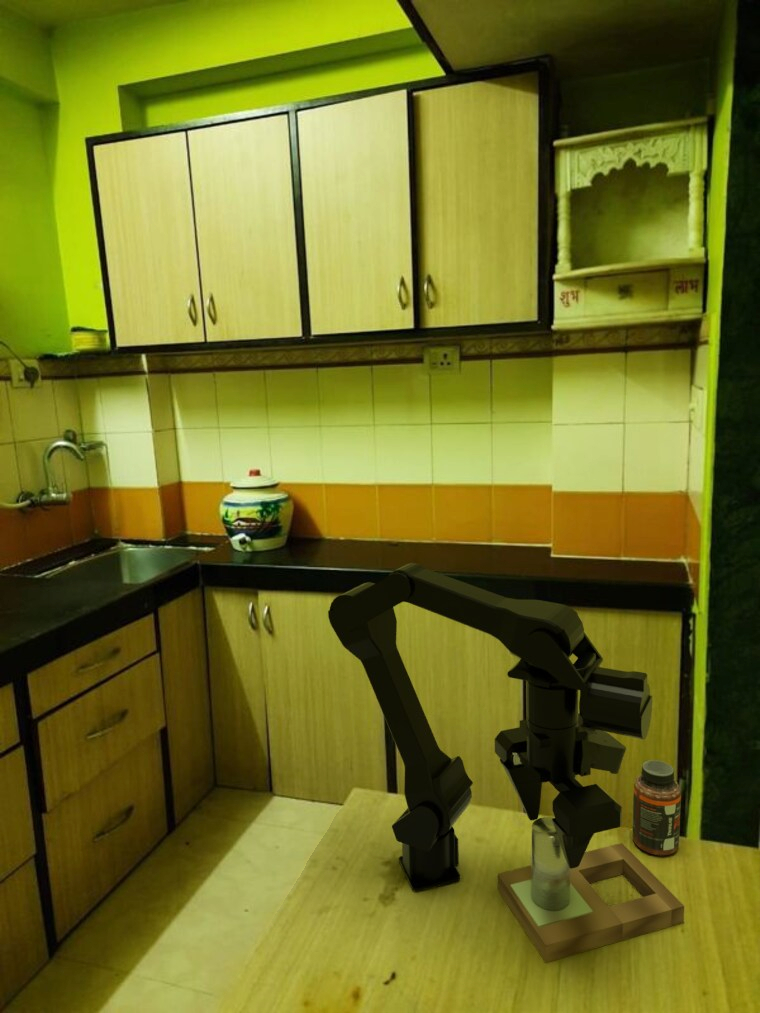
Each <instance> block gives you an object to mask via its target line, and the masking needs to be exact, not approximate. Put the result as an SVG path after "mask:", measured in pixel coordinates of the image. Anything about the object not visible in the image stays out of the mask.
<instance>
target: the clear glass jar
mask: <svg viewBox="0 0 760 1013" xmlns="http://www.w3.org/2000/svg"><path fill="white" fill-rule="evenodd" d="M552 818H554V817H552V816H551V817H550V816H545V817H540V818H539V817H538V819H536V820H533V822H532V824H531V845H530V847H531V848H530V849H531V851H530V852H531V856H530V861H531V862H530V866H531V898H532V900H533V902H534V903H535V904H536V905H537V906H538V907H540V908H542V909H545V910H548V911H560V910H563V909H565V908H566V907H567V906H568V905H569V902H570V867H569V866H568V864H567V861H566V859H565V856H564V853H563V850H562V847H561V845H560V842H559V839H558V836H557V833H556V830H555V827H554V824H553V821H552Z"/></svg>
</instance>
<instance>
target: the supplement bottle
mask: <svg viewBox="0 0 760 1013" xmlns="http://www.w3.org/2000/svg"><path fill="white" fill-rule="evenodd" d="M681 789H682V788H681V786H680V784H679V783H678V782H677V780H675V769H674V768H673V766H672V765H670V764H669V763H667V762H666V761H665V762H664V761H661V760H656V759H654V760H653V759H650V760H647V761H645V762H643V763H642V765H641V774H640V775H638V776H637V777H636V778H635V779H634V783H633V801H632V802H633V805H632V840H633V842H634V843H635V845H636V846H637V847H638V848H639V849H641V851H643V852H645V853H648V854H651V855H655V856H669V855H673V854H675V852H677V850H678V849H679V846H680V835H681V834H680V833H681V832H680V830H681V828H680V827H681V810H682V809H681V805H682V804H681V802H682V790H681Z"/></svg>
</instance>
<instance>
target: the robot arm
mask: <svg viewBox="0 0 760 1013" xmlns="http://www.w3.org/2000/svg"><path fill="white" fill-rule="evenodd" d="M402 603H408V604H410V605H412V606H416V607H418V608H421V609H424V610H426V611H428V612H431V613H434V614H436V615H439V616H441V617H443V618H446V619H449V620H452V621H454V622H457V623H458V624H459V623H460V624H461V625H464V626H466V627H469V628H472V629H474V630H477V631H480V632H482V633H485V634H487V635H489V636H491V637H493V638H495V639H496V640H498V641H499V642H500V643H501V644H502V645H503V646H504V647H505V648H506V649H507V650H508V651H509V652H510V653H511V654H513V655H514V656H516V657H517V658H519V660H518V661H517V662H516V663H515V664H514V665H513V666H512V667H511V668H510V669H509V671H507V677H508V678H510V679H516V680H521V681H525V686H526V688H525V694H526V695H525V698H526V699H525V700H526V701H525V703H526V705H525V706H526V713H525V714H526V715H525V716H526V719H521V720H519V726H518V727H514V728H510V729H503V730H501V731H500V732H499V733H498V734H497V735H496V736H495V738H494V754H496V756H498V758H499V763H500V765H502V767H503V769H504V771H505V773H506V775H507V777H508V780H509V781H510V783H511V785H512V787H513V790H514V791H515V793H516V795H517V797H518V800H519V801H520V803H521V805H522V807H523V810H524V812H525V814H526V816H527V818H528V820H529V821H535V820H537V819H539V816H540V815H539V814H540V807H541V798H542V787H543V783H550V784H551V786H552V787H553V788H554V789H556V791H557V792H558V794H557V795H556V797H555V798H553V800H552V812H553V816H554V817H553V818H552V821H553V824H554V827H555V830H556V833H557V836H558V839H559V842H560V845H561V847H562V850H563V853H564V856H565V859H566V861H567V864H568V866H569V867H570V868H571V869H572V868H576V867H578V866H579V865H580V862H581V860H582V858H583V856H584V853H585V852H587V848H588V846H589V844H590V842H591V840H592V839H593V836H594V835H595V834H597V833H601V832H606V831H610V830H613V829H614V830H615V829H617V828H621V826H622V822H623V821H622V819H623V817H622V816H623V815H622V813H623V811H622V808H623V807H622V806H621V805H620V804H619V803H618V802H617V801H616V800H615V799H614V798H613V797H612V796H611V795H610V794H608V793H607V792H606V791H605V790H604V789H603V788H602V787H600V785H598V784H597V783H594V784H588V785H585V786H584V785H582V784H581V783H580V781H578V780H577V779H576V776H580V777H581V778H582V777H587V776H591V774H592V773H591V772H592V771H591V769H594V770H599V771H605V772H609V773H610V774H613V775H616V774H617V775H618V774H619V770H620V768H621V765H622V762H623V760H624V757H625V753H626V751H627V750H626V749H627V747H626V746H625V745H624V744H622V742H620V741H619V740H618V739H616V738H615V737H614V736H613V735H611V734H616V735H621V736H625V737H631V738H635V739H640V740H646V739H647V736H648V733H649V730H650V725H651V720H652V710H653V695H651V688H650V685H649V683H648V674H647V673H646V672H643V671H642V672H641V671H634V670H633V671H632V670H631V671H626V670H619V669H613V668H607V667H601V664H602V663H603V661H604V658H603V657H602V655H601V654H600V652H599V651H598V649H597V648H596V647H595V645H594V644H593V642H592V641H591V640H590V638H589V637H588V635H587V634H586V633H585V628H584V625H583V621H582V620H581V618H580V616H579V613H578V612H577V611H576V610H575V609H573V608H572V607H570V606H568V605H567V604H563V603H557V602H551V601H546V600H540V599H515V598H510V597H506V596H504V595H500V594H497V593H495V592H491V591H488V590H486V589H483V588H481V587H478V586H476V585H472V584H469V583H467V582H464V581H461V580H458V579H455V578H453V577H450V576H447V575H444V574H442V573H439V572H436V571H433V570H430V569H427V568H426V567H425V566H423V565H422V564H420V563H417V562H416V563H415V562H410V563H406V564H404V565H402V566H401V567H399V568H397V569H394V570H393V571H391V572H390V573H389V575H388V576H387V577H384V578H383V579H382V580H379V581H378V582H375V583H374V582H371V581H369V582H363V583H362V584H360V585H358V586H355V587H353V588H352V589H349V590H348V591H346V592H343V593H342V594H340V595H338V596H336V597H335V598H334V599H333V600H332V601H331V603H330V607H329V610H328V611H327V617H328V620H329V624H330V627H331V628H332V629H333V631H334V634H335V635H336V636H337V638H338V640H339V641H340V643H341V645H342V647H344V649H345V650H346V651H348V652H349V653H351V654H352V656H354V657H356V658H357V659H358V660H359V661H360V663H361V664H362V666H363V669H364V672H365V674H366V676H367V678H368V681H369V682H370V685H371V688H372V691H373V693H374V695H375V698H376V700H377V702H378V705H379V707H380V709H381V712H382V715H383V717H384V720H385V721H386V722H385V723H386V725H387V726H388V729H389V731H390V734H391V736H392V740H393V742H394V744H395V745H396V749H397V751H398V754H399V756H400V758H401V761H402V763H403V765H404V766H403V767H404V779H403V780H404V781H403V782H404V784H403V785H404V786H403V793H404V799H405V802H406V806H407V809H406V810H405V811H403V813H402V814H401V815H400V816H399V817H398V818H397V819H396V821H395V822H394V823H393V824H392V825H391V829H392V832H393V834H394V838H395V840H396V841H397V842H399V843H401V846H402V848H401V849H402V850H401V851H402V855H401V856H399V857H398V863H399V864H400V866H401V869H402V871H403V873H404V875H405V877H406V879H407V882H408V884H409V886H410V888H411V889H412V891H413V892H420V891H425V890H429V889H431V888H436V887H437V888H438V887H440V886H444V885H448V884H453V883H456V882H459V881H460V880H461V875H460V873H459V871H458V869H457V868H458V867H459V864H460V861H459V860H460V859H459V858H460V857H459V856H460V855H459V854H460V853H459V837H458V836H457V835H456V833H455V828H454V824H455V823H456V822H457V821H458V819H459V818H461V816H462V815H463V813H464V812H465V810H467V808H468V807H469V805H470V803H471V799H472V797H473V794H472V788H471V787H472V785H474V782H473V780H472V779H471V778H470V777H469V775H468V773H467V772H466V769H465V764H464V761H463V759H462V758H461V757H460V755H459V756H454V757H453V758H452V757H450V756H449V755H447V754H446V753H445V752H444V751H442V750H441V749H440V747H439V745H438V742H437V741H436V740H437V739H436V737H435V735H434V733H433V731H432V730H433V729H432V728H431V726H430V723H429V721H428V718H427V716H426V714H425V711H424V709H423V706H422V705H421V702H420V700H419V697H418V695H417V692H416V690H415V688H414V685H413V683H412V680H411V678H410V676H409V673H408V671H407V669H406V666H405V664H404V660H403V659H402V656H401V655H400V652H399V649H398V646H397V628H398V620H397V616H396V613H395V609H394V608H395V607H396V606H398V605H400V604H402ZM572 655H574V656H575V657H576V658H577V659H576V660H575V661H574V662H572V660H571V659H570V657H571V656H572ZM610 733H611V734H610Z"/></svg>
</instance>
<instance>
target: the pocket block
mask: <svg viewBox="0 0 760 1013" xmlns="http://www.w3.org/2000/svg"><path fill="white" fill-rule="evenodd" d="M621 875H623V876H624V877H625V878H626V879H627V881H628V882H629V883H630V884H631V885H632V886H633V887H634V888H635V889H636V890H637V892H638V893H640V895H641V896H642V897H638V898H635V899H631V900H627V901H623V902H620V903H616V904H612V905H608V904H607V902H605V900H604V899H603V898H602V896H601V895H600V894H599V893H598V891H596V890H595V888H594V887H593V886H592V885H591V884H592V883H595V882H599V881H602V880H607V879H610V878H614V877H618V876H621ZM590 883H591V884H590ZM497 891H498V892H499V893H500V895H501V896H502V898H503V899H504V900H503V901H505V903H506V905H507V906H508V908H509V910H511V912H512V913H513V915H514V917H515V918H516V920H517V921H518V923H519V924H520V926H521V927H522V929H523V930H524V932H525V934H526V935H527V936H528V938H529V941H531V942H532V944H533V946H534V947H535V949H536V950H537V952H538V953H539V955H540V956H541V958H542V960H543V961H544V962H545V963H549V962H552V961H556V960H559V959H563V958H567V957H570V956H573V955H577V954H581V953H583V952H587V951H591V950H595V949H597V948H601V947H604V946H608V945H610V944H615V943H618V942H622V941H626V940H628V939H631V938H632V939H633V938H636V937H638V936H642V935H646V934H649V933H653V932H655V931H659V930H663V929H666V928H670V927H673V926H676V925H681V924H684V922H685V905H684V904H683V902H682V901H680V900H679V899H678V898H677V897H676V896H675V895H674V894H673V893H672V891H670V889H669V888H667V887H666V885H665V884H663V883H662V881H661V880H659V879H658V877H657V876H655V874H653V873H652V872H651V870H649V868H648V867H646V866H645V864H644V863H643V862H641V861H640V860H639V858H637V856H636V855H635V854H634V853H633V852H632V851H631V850H629V848H628V847H627V846H626V845H625V844H624V843H623V842H622V843H621V842H619V843H617V844H613V845H609V846H604V847H599V848H597V849H592V850H588V851H585V853H584V856H583V858H582V860H581V862H580V865H579V866H578V867H576V868H572V869H571V868H570V902H569V905H568V906H567V907H566V908H565V909H563V910H560V911H548V910H545V909H542V908H540V907H538V906H537V905H536V904H535V903H534V902H533V900H532V898H531V865H528V866H527V865H526V866H523V867H520V868H516V869H515V868H514V869H512V870H508V871H503V872H499V873H497Z"/></svg>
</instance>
